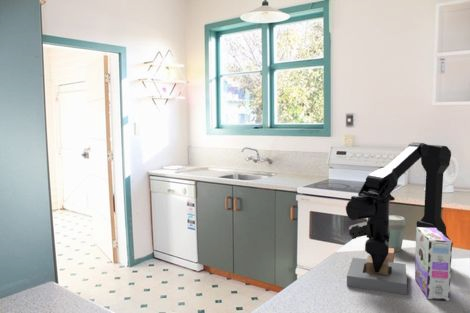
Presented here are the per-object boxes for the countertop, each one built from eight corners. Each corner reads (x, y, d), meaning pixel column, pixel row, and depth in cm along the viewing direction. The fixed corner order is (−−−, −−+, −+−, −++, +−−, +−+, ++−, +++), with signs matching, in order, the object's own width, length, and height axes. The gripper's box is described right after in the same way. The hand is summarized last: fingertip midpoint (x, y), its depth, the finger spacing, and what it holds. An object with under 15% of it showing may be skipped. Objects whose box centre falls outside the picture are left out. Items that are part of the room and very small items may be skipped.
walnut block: (388, 273, 119) (388, 257, 119) (387, 281, 114) (388, 264, 113) (367, 270, 121) (367, 255, 121) (366, 278, 116) (366, 262, 115)
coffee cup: (402, 254, 138) (403, 221, 137) (378, 250, 143) (378, 218, 142) (407, 247, 146) (407, 216, 144) (383, 243, 150) (384, 213, 149)
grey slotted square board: (405, 273, 122) (405, 263, 121) (406, 294, 107) (406, 284, 107) (352, 266, 128) (352, 257, 128) (346, 285, 113) (346, 275, 113)
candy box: (450, 301, 103) (453, 241, 101) (426, 299, 104) (428, 240, 102) (434, 280, 116) (436, 226, 115) (413, 279, 117) (415, 226, 116)
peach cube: (393, 262, 131) (394, 248, 130) (393, 268, 126) (393, 253, 126) (377, 260, 133) (378, 246, 132) (377, 266, 128) (377, 251, 128)
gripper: (353, 207, 127) (353, 253, 129) (347, 221, 110) (346, 274, 112) (390, 209, 123) (389, 257, 124) (389, 224, 106) (387, 279, 107)
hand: (377, 266), depth 117 cm, fingers open, 9 cm apart
